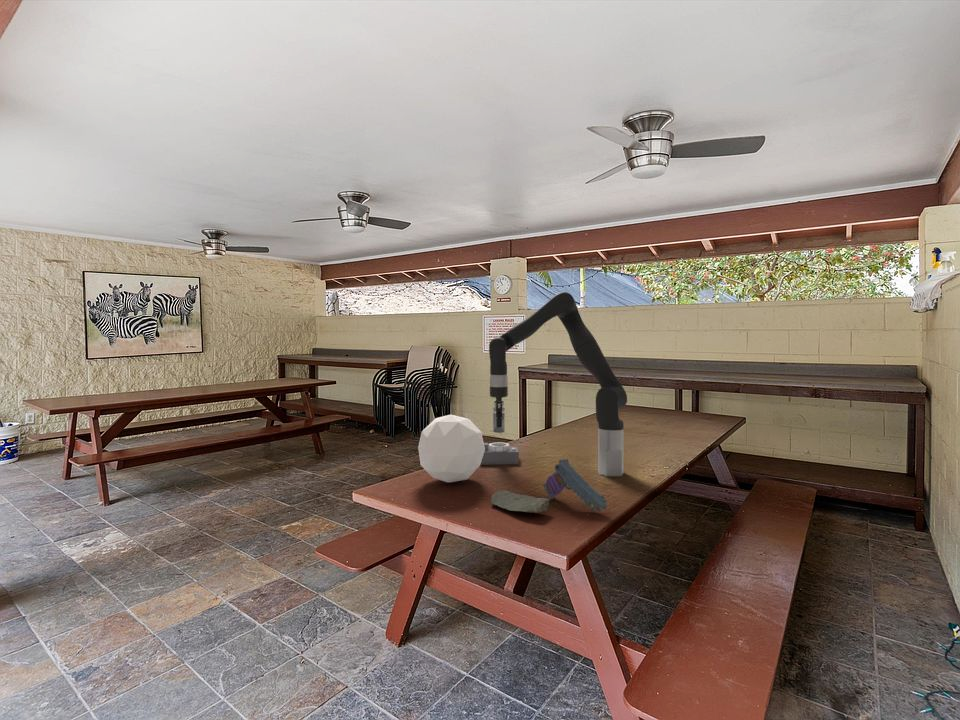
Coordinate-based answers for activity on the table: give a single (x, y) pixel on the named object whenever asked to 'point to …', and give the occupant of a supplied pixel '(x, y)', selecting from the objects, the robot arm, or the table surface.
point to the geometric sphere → (451, 448)
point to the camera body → (500, 454)
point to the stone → (519, 502)
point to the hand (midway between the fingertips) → (498, 425)
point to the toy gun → (573, 486)
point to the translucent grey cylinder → (495, 428)
